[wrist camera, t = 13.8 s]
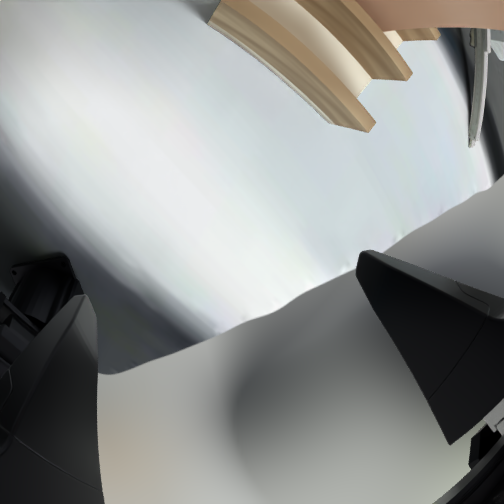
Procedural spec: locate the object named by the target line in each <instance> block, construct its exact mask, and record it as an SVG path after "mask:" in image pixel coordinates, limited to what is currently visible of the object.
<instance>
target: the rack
mask: <svg viewBox="0 0 504 504" xmlns="http://www.w3.org/2000/svg"><path fill="white" fill-rule="evenodd" d="M207 25H209V26H210V27H212V28H213V29H215V30H217V31H218V32H220V33H221V34H222V35H224V36H225V37H227V38H228V39H230V40H231V41H233V42H234V43H235V44H237V45H238V46H240V47H241V48H242V49H244V50H245V51H246V52H248V53H249V54H250V55H252V56H253V57H254V58H256V59H257V60H258V61H259V62H261V63H262V64H263V65H265V66H266V67H267V68H268V69H269V70H271V71H272V72H273V73H274V74H276V75H277V76H278V77H279V78H280V79H282V80H283V81H284V82H285V83H286V84H287V85H288V86H290V87H291V88H292V89H293V90H294V91H295V92H296V93H298V94H299V95H300V96H301V97H302V98H303V99H304V100H305V101H306V102H307V103H308V104H309V105H311V106H312V107H313V108H314V109H315V110H316V111H317V112H318V113H319V114H320V115H321V116H322V117H323V118H324V119H325V120H326V121H327V122H328V123H329V124H334V125H338V126H343V127H347V128H351V129H355V130H359V131H363V132H367V133H369V131H370V130H371V129H372V127H373V126H374V125H375V123H376V121H375V120H374V119H373V118H372V116H371V115H370V114H369V113H368V111H367V110H366V109H365V108H364V107H363V105H362V104H361V103H360V102H359V101H358V100H357V97H358V96H359V95H360V94H361V92H362V91H363V90H364V89H365V87H366V86H367V85H368V84H369V82H370V81H371V80H372V79H384V80H401V81H407V80H408V79H409V78H410V76H411V75H412V74H413V72H412V71H411V69H410V68H409V67H408V65H407V64H406V62H405V61H404V59H403V58H402V56H401V55H400V54H399V52H398V51H397V50H396V49H397V48H398V47H399V45H400V44H401V43H402V42H403V41H414V40H437V39H438V38H439V36H440V35H441V34H440V33H439V31H438V30H437V28H436V27H435V28H416V29H404V30H395V31H387V32H382V30H381V29H380V28H379V27H378V25H377V24H376V23H375V22H374V21H373V20H372V18H371V17H370V16H369V15H368V14H367V13H366V12H365V11H364V10H363V8H362V7H361V6H360V5H359V4H358V3H357V2H356V1H355V0H221V2H220V3H219V5H218V6H217V8H216V10H215V11H214V13H213V15H212V17H211V18H210V20H209V22H208V23H207Z"/></svg>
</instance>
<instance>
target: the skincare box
mask: <svg viewBox="0 0 504 504" xmlns="http://www.w3.org/2000/svg"><path fill="white" fill-rule="evenodd" d="M490 33H491V47H492V49H493V50H494V52H495V53H496V55H497V56H498V58H499V59H500V60H502V61H504V31H502V30H494V29H490Z"/></svg>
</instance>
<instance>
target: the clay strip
mask: <svg viewBox="0 0 504 504" xmlns="http://www.w3.org/2000/svg"><path fill="white" fill-rule="evenodd" d="M355 1H356V2H357V3H358V4H359V5H360V6H361V7H362V8H363V10H364V11H365V12H366V13H367V14H368V15H369V16H370V17H371V18H372V20H373V21H374V22H375V23H376V24H377V25H378V27H379V28H380V29H381V30H382V32H387V31H395V30H404V29H416V28H435V27H465V28H483V29H494V30H502V31H504V0H355Z"/></svg>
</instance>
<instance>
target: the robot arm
mask: <svg viewBox="0 0 504 504" xmlns="http://www.w3.org/2000/svg"><path fill="white" fill-rule="evenodd" d="M62 262H65V263H66V265H65V264H63V263H62ZM14 270H15V271H16V272H15V271H14ZM10 274H11V276H12V278H13V280H14V283H15V285H16V286H15V288H14V290H13V292H12V294H11V295H10V297H9V299H7V298H6V296H5V295H4V294H3V293H2V292H0V504H105V503H104V496H103V492H102V483H101V474H100V464H99V453H98V436H97V381H98V348H97V318H96V314H95V312H94V310H93V307H92V305H91V302H90V300H89V298H88V296H87V295H85V294H84V293H83V290H82V288H81V285H80V282H79V281H78V280H77V279H76V277H75V274H74V271H73V269H72V266H71V263H70V260H69V259H68V258H67V257H58V258H52V259H46V260H40V261H35V262H29V263H24V264H18V265H14V266H12V268H11V269H10ZM356 277H357V279H358V281H359V283H360V285H361V287H362V289H363V291H364V293H365V295H366V296H367V298H368V300H369V302H370V304H371V306H372V308H373V310H374V311H375V313H376V315H377V317H378V318H379V320H380V321H381V323H382V324H383V326H384V328H385V329H386V331H387V333H388V334H389V336H390V337H391V339H392V341H393V342H394V344H395V346H396V347H397V349H398V351H399V352H400V354H401V355H402V357H403V359H404V361H405V362H406V364H407V366H408V368H409V369H410V371H411V373H412V375H413V377H414V378H415V380H416V382H417V384H418V386H419V387H420V389H421V391H422V393H423V395H424V397H425V398H426V400H427V403H428V404H429V406H430V408H431V410H432V412H433V414H434V416H435V418H436V420H437V422H438V424H439V426H440V428H441V430H442V432H443V434H444V436H445V438H446V440H447V442H448V444H449V445H452V444H453V443H454V442H455V441H457V440H458V439H459V438H460V437H462V436H463V435H464V434H466V433H467V432H468V431H469V430H470V429H472V428H473V427H474V426H475V425H476V424H477V423H478V422H480V421H481V420H482V419H484V420H485V422H486V424H485V425H484V426H483V427H482V428H481V429H480V430H479V431H478V432H477V433H476V434H475V435H474V436H473V437H472V438H471V447H470V456H469V463H468V464H469V467H470V468H471V471H470V472H469V473H467V475H466V476H464V477H463V479H461V480H460V481H459V482H458V483H457V484H456V485H455V486H454V487H452V488H451V489H450V490H449V491H448V492H447V493H445V494H444V495H443V496H442V497H441V498H439V499H438V500H437V501H436V502H434V503H433V504H504V298H501V297H498V296H495V295H492V294H490V293H487V292H484V291H481V290H478V289H476V288H473V287H470V286H468V285H465V284H462V283H460V282H457V281H454V280H452V279H449V278H447V277H444V276H442V275H439V274H437V273H434V272H431V271H429V270H426V269H423V268H421V267H418V266H415V265H413V264H410V263H407V262H404V261H402V260H399V259H396V258H393V257H391V256H388V255H385V254H382V253H379V252H376V251H374V250H366V251H362V252H361V253H360V254H359V258H358V262H357V267H356Z"/></svg>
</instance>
